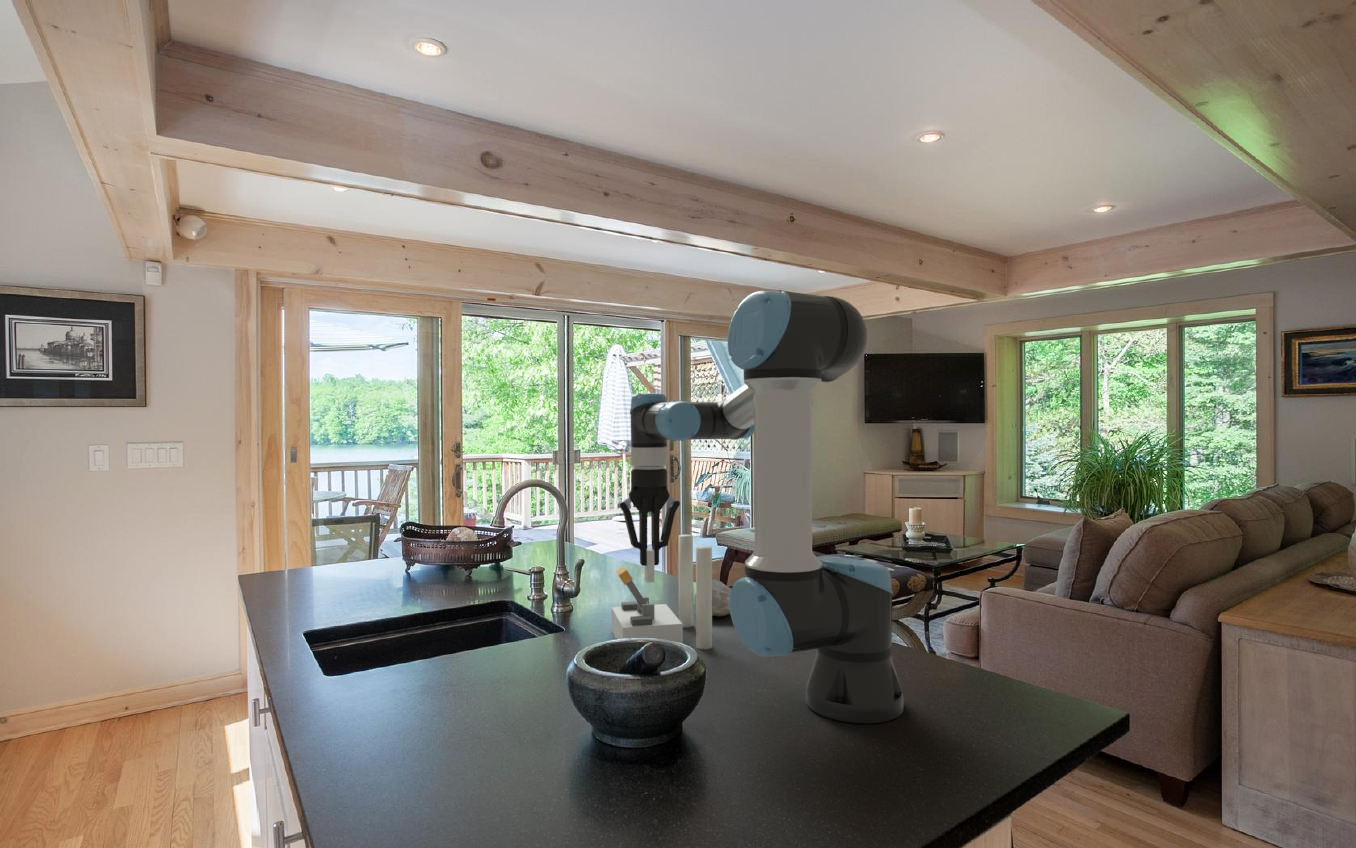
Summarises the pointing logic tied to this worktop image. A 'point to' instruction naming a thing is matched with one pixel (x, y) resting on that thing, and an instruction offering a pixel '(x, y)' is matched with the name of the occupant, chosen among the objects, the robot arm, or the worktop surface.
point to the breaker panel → (646, 621)
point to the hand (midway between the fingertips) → (649, 580)
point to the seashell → (719, 598)
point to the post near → (704, 597)
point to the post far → (685, 579)
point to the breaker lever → (631, 585)
